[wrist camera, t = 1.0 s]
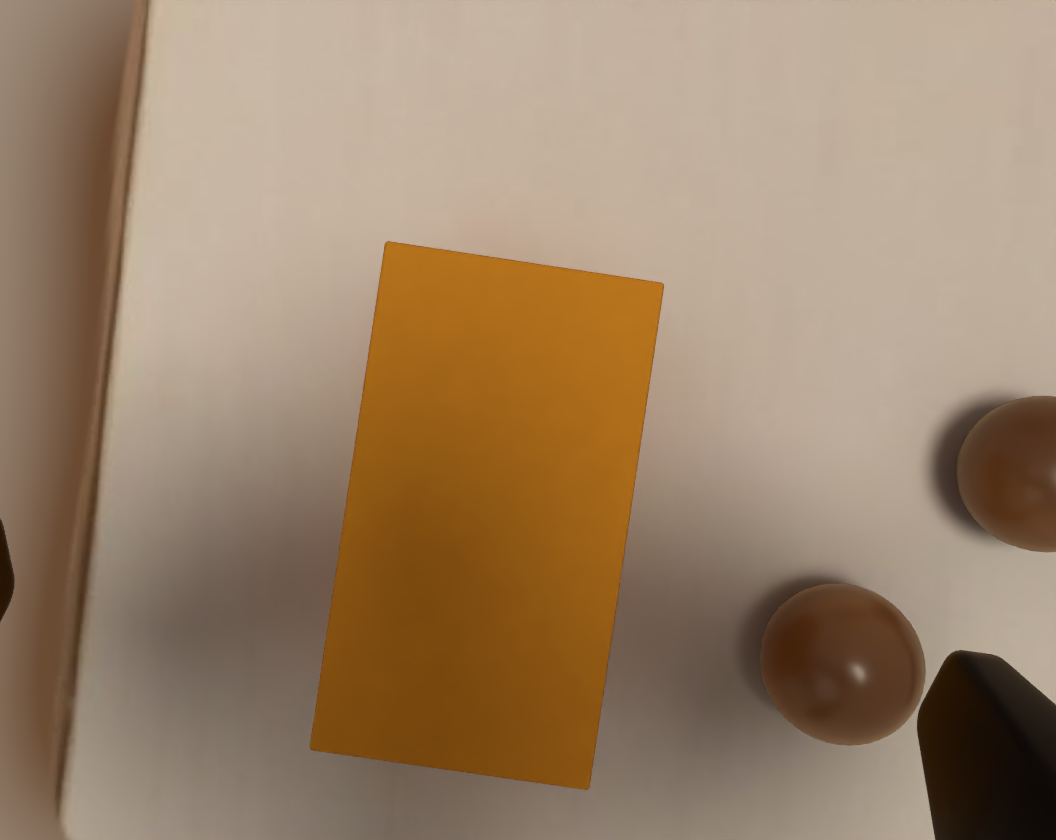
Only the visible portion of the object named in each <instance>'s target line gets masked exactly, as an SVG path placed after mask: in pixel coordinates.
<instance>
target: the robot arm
mask: <svg viewBox="0 0 1056 840" xmlns="http://www.w3.org/2000/svg"><path fill="white" fill-rule="evenodd" d="M13 590H14V573H13V568H12V564H11V559H10V554H9V549H8V545H7V540H6V535H5V531H4V526H3V523H2V520H1V519H0V621H1V620H2V618H3V616H4V614H5V612H6V610H7V608H8V606H9V603H10V601H11V598H12V595H13ZM917 732H918V739H919V745H920V751H921V757H922V763H923V769H924V775H925V781H926V787H927V793H928V799H929V805H930V811H931V817H932V823H933V829H934V835H935V840H1056V705H1055V704H1054V703H1053V702H1052V701H1051V700H1050V699H1048V698H1047V697H1046V696H1045V695H1044V694H1043V693H1042V692H1040V691H1039V690H1038V689H1037V688H1036V687H1035V686H1033V685H1032V684H1031V683H1030V682H1029V681H1028V680H1027V679H1025V678H1024V677H1023V676H1022V675H1021V674H1020V673H1019V672H1017V671H1016V670H1015V669H1014V668H1013V667H1012V666H1011V665H1009V664H1008V663H1007V662H1006V661H1004V660H1003V659H1002V658H1000V657H998V656H995V655H992V654H985V653H978V652H971V651H964V650H959V651H954V652H952V653H951V654H950V655H948V656H947V658H946V659H945V661H944V663H943V665H942V666H941V668H940V670H939V672H938V674H937V676H936V678H935V680H934V681H933V683H932V685H931V687H930V689H929V691H928V693H927V695H926V696H925V698H924V700H923V702H922V704H921V706H920V709H919V713H918V719H917Z"/></svg>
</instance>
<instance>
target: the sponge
mask: <svg viewBox="0 0 1056 840" xmlns="http://www.w3.org/2000/svg"><path fill="white" fill-rule="evenodd" d="M663 290H664V284H663V283H660V282H653V281H647V280H640V279H634V278H627V277H620V276H614V275H607V274H600V273H594V272H587V271H581V270H574V269H567V268H561V267H554V266H548V265H541V264H534V263H528V262H521V261H515V260H508V259H501V258H495V257H488V256H482V255H475V254H468V253H462V252H455V251H449V250H442V249H435V248H429V247H422V246H416V245H409V244H402V243H396V242H389V241H388V242H386V243H385V247H384V254H383V260H382V267H381V274H380V280H379V287H378V294H377V301H376V307H375V314H374V321H373V327H372V334H371V341H370V347H369V354H368V361H367V367H366V374H365V381H364V387H363V394H362V401H361V407H360V414H359V421H358V428H357V434H356V441H355V448H354V454H353V461H352V468H351V474H350V481H349V488H348V494H347V501H346V508H345V514H344V521H343V528H342V534H341V541H340V548H339V555H338V561H337V568H336V575H335V581H334V588H333V595H332V601H331V608H330V615H329V621H328V628H327V635H326V641H325V648H324V655H323V661H322V668H321V675H320V682H319V688H318V695H317V702H316V708H315V715H314V722H313V728H312V735H311V742H310V749H311V750H315V751H322V752H328V753H335V754H342V755H349V756H356V757H363V758H370V759H377V760H384V761H391V762H398V763H405V764H412V765H419V766H426V767H432V768H439V769H446V770H453V771H460V772H467V773H474V774H481V775H488V776H495V777H502V778H509V779H516V780H523V781H530V782H536V783H543V784H550V785H557V786H564V787H571V788H578V789H585V790H587V789H589V787H590V780H591V773H592V767H593V760H594V753H595V746H596V740H597V733H598V726H599V720H600V713H601V706H602V699H603V693H604V686H605V679H606V673H607V666H608V659H609V652H610V646H611V639H612V632H613V626H614V619H615V612H616V605H617V599H618V592H619V585H620V579H621V572H622V565H623V558H624V552H625V545H626V538H627V532H628V525H629V518H630V511H631V505H632V498H633V491H634V485H635V478H636V471H637V464H638V458H639V451H640V444H641V438H642V431H643V424H644V417H645V411H646V404H647V397H648V390H649V384H650V377H651V370H652V364H653V357H654V350H655V343H656V337H657V330H658V323H659V317H660V310H661V303H662V296H663Z"/></svg>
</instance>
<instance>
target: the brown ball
mask: <svg viewBox="0 0 1056 840" xmlns="http://www.w3.org/2000/svg"><path fill="white" fill-rule="evenodd" d="M760 667H761V672H762V677H763V681H764V684H765V687H766V690H767V692H768V694H769V696H770V698H771V699H772V701H773V703H774V704H775V706H776V707H777V709H778V710H779V711H780V712H781V714H782V715H783V716H784V717H785V718H786V719H787V720H788V721H789V722H791V723H792V724H793V725H794V726H795V727H797V728H798V729H799V730H801V731H802V732H804V733H806V734H808V735H810V736H812V737H814V738H816V739H819V740H821V741H824V742H827V743H832V744H837V745H862V744H867V743H871V742H874V741H877V740H880V739H882V738H884V737H886V736H888V735H890V734H892V733H893V732H895V731H896V730H897V729H899V728H900V727H901V726H902V725H903V724H904V723H905V722H906V721H907V720H908V719H909V718H910V716H911V715H912V714H913V712H914V711H915V709H916V707H917V705H918V703H919V701H920V698H921V696H922V693H923V688H924V683H925V673H926V670H925V659H924V653H923V650H922V647H921V644H920V641H919V638H918V636H917V634H916V632H915V630H914V628H913V627H912V625H911V624H910V622H909V621H908V620H907V618H906V617H905V616H904V615H903V614H902V613H901V611H900V610H899V609H898V608H896V607H895V606H894V605H893V604H892V603H890V602H889V601H888V600H886V599H885V598H883V597H882V596H880V595H878V594H876V593H874V592H872V591H870V590H867V589H865V588H862V587H858V586H854V585H849V584H839V583H836V584H823V585H817V586H813V587H810V588H807V589H805V590H803V591H801V592H799V593H797V594H795V595H794V596H792V597H791V598H789V599H788V600H787V601H786V602H784V603H783V604H782V605H781V606H780V607H779V608H778V609H777V611H776V612H775V613H774V615H773V616H772V618H771V619H770V621H769V623H768V625H767V627H766V629H765V632H764V635H763V638H762V643H761V649H760Z"/></svg>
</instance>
